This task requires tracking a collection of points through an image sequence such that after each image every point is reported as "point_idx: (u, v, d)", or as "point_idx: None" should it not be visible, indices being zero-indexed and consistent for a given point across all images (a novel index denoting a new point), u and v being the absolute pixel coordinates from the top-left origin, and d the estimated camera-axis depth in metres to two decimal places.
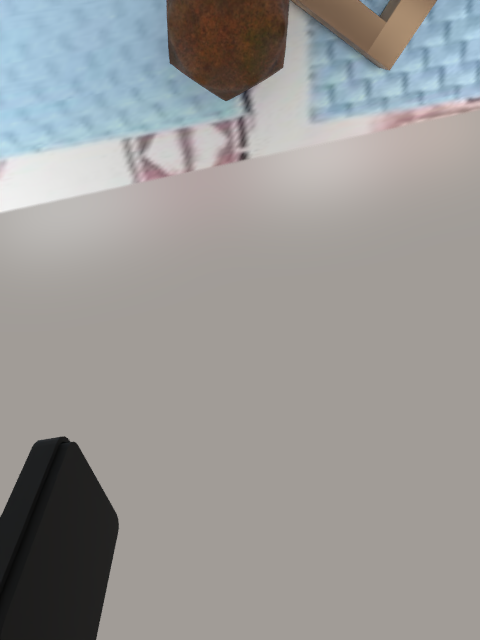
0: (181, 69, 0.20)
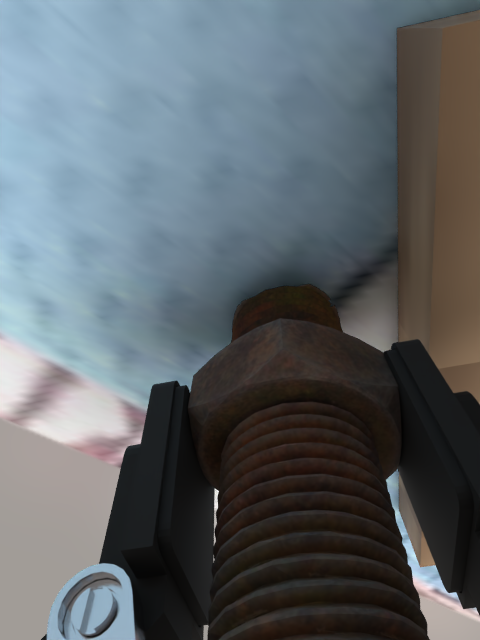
0: None
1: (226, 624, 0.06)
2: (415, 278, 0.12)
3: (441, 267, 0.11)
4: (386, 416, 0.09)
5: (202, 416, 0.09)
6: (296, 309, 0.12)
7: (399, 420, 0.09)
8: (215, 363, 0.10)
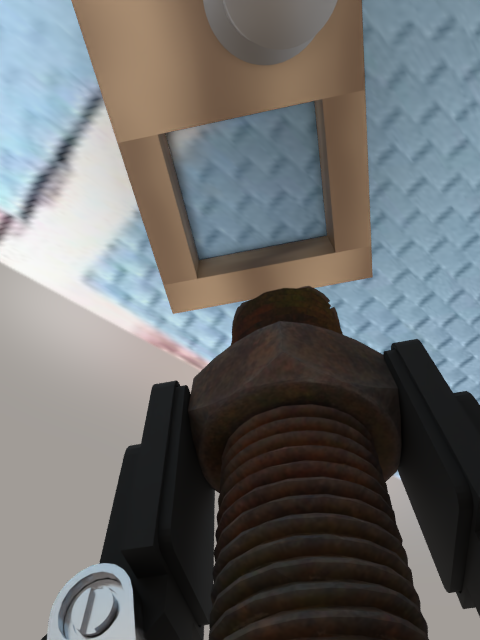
0: None
1: (227, 627, 0.06)
2: None
3: (98, 70, 0.20)
4: (386, 418, 0.09)
5: (202, 419, 0.09)
6: (296, 311, 0.12)
7: (399, 422, 0.09)
8: (215, 366, 0.10)
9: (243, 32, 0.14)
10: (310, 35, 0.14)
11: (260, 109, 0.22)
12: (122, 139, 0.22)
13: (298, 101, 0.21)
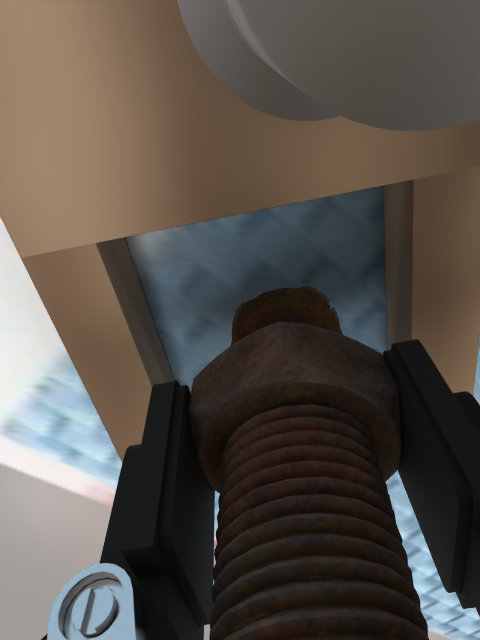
0: None
1: (228, 627, 0.06)
2: None
3: None
4: (386, 418, 0.09)
5: (202, 419, 0.09)
6: (295, 311, 0.12)
7: (399, 422, 0.09)
8: (215, 366, 0.10)
9: (291, 73, 0.04)
10: None
11: (292, 198, 0.11)
12: (29, 251, 0.12)
13: (366, 183, 0.11)
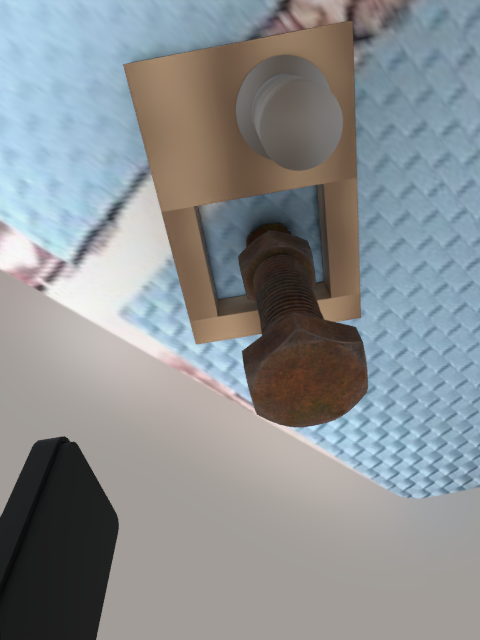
0: (248, 380, 0.19)
1: (264, 301, 0.24)
2: None
3: (151, 159, 0.26)
4: (307, 259, 0.27)
5: (245, 265, 0.27)
6: None
7: (312, 260, 0.27)
8: (246, 250, 0.28)
9: (272, 159, 0.20)
10: (319, 162, 0.21)
11: (275, 190, 0.28)
12: (165, 209, 0.28)
13: (305, 184, 0.28)
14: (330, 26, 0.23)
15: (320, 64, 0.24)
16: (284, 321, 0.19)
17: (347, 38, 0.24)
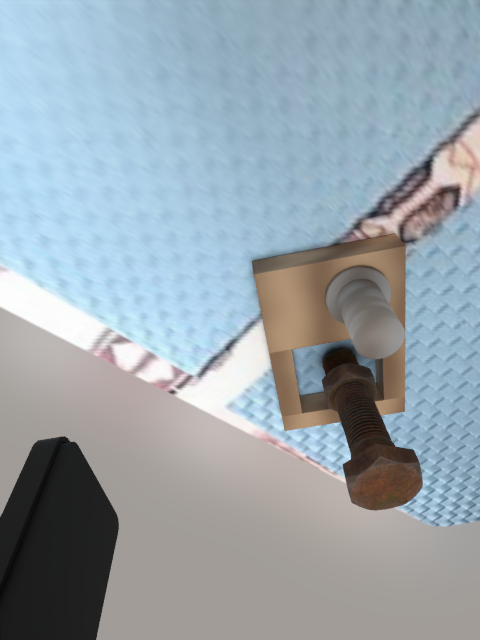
0: (349, 485, 0.32)
1: (347, 421, 0.36)
2: None
3: (266, 323, 0.39)
4: (371, 384, 0.39)
5: (329, 389, 0.39)
6: (344, 358, 0.42)
7: (374, 384, 0.39)
8: (328, 376, 0.40)
9: (360, 353, 0.33)
10: (389, 354, 0.33)
11: (348, 338, 0.40)
12: (272, 351, 0.41)
13: None
14: (390, 249, 0.36)
15: (383, 269, 0.37)
16: (370, 449, 0.32)
17: (401, 255, 0.36)
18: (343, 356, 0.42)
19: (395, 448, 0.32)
